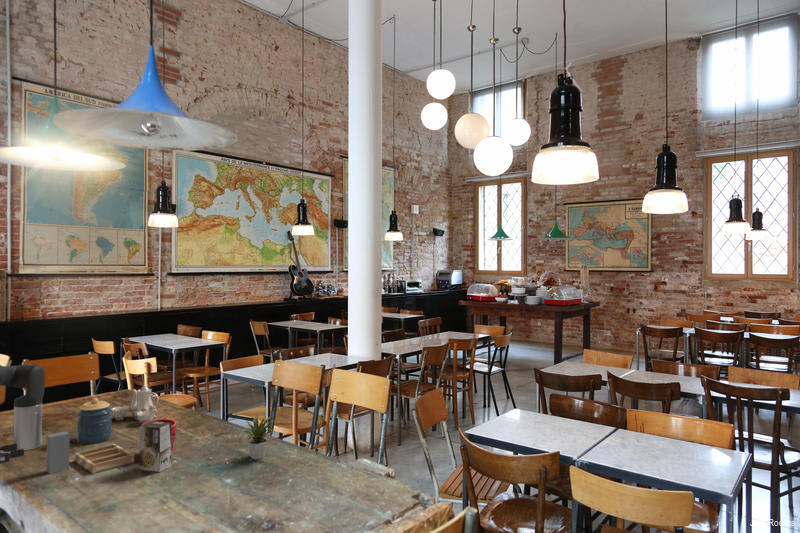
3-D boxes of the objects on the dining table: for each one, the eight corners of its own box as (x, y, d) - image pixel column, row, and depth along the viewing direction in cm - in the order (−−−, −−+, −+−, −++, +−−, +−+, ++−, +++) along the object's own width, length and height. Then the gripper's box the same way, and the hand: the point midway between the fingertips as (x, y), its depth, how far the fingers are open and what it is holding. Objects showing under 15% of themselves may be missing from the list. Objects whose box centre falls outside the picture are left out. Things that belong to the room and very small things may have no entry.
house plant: (265, 466, 189) (266, 422, 189) (231, 463, 192) (232, 420, 192) (282, 453, 203) (282, 411, 203) (250, 450, 206) (250, 409, 206)
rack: (74, 461, 193) (74, 453, 193) (114, 451, 204) (114, 443, 204) (93, 473, 182) (93, 465, 182) (134, 462, 192) (134, 454, 192)
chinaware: (102, 424, 243) (99, 390, 241) (130, 411, 258) (127, 379, 257) (150, 430, 234) (147, 395, 233) (176, 417, 250) (173, 383, 248)
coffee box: (172, 465, 189) (172, 422, 189) (159, 472, 183) (160, 427, 183) (151, 463, 192) (152, 420, 192) (138, 469, 186) (139, 425, 186)
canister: (118, 435, 223) (118, 394, 223) (98, 445, 210) (98, 402, 210) (90, 433, 224) (91, 393, 224) (68, 444, 212) (69, 401, 212)
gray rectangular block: (46, 471, 183) (46, 435, 183) (65, 466, 188) (66, 431, 188) (49, 474, 181) (50, 437, 181) (69, 469, 186) (69, 433, 186)
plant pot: (132, 456, 198) (132, 425, 198) (161, 446, 210) (162, 416, 210) (154, 462, 192) (154, 430, 192) (183, 451, 204) (184, 421, 204)
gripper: (-37, 455, 159) (26, 442, 171) (-46, 445, 168) (14, 433, 180) (-37, 479, 159) (26, 465, 171) (-47, 468, 168) (14, 455, 180)
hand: (20, 449), depth 176 cm, fingers open, 8 cm apart
